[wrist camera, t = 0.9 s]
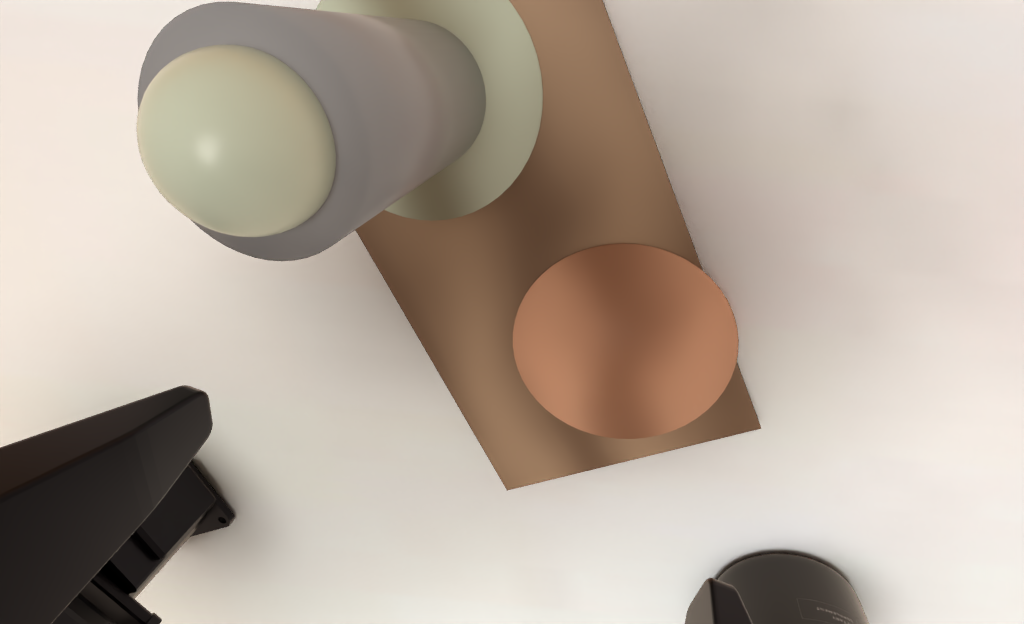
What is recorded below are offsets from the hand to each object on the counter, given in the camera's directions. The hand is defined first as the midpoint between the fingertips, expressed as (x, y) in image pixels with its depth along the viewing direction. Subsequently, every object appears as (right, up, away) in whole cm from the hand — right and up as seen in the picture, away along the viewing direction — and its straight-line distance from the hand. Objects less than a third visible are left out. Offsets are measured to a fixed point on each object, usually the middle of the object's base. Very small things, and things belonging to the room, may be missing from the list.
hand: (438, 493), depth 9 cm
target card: (+2, +5, +13) cm, 14 cm away
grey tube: (-2, +11, +11) cm, 15 cm away
